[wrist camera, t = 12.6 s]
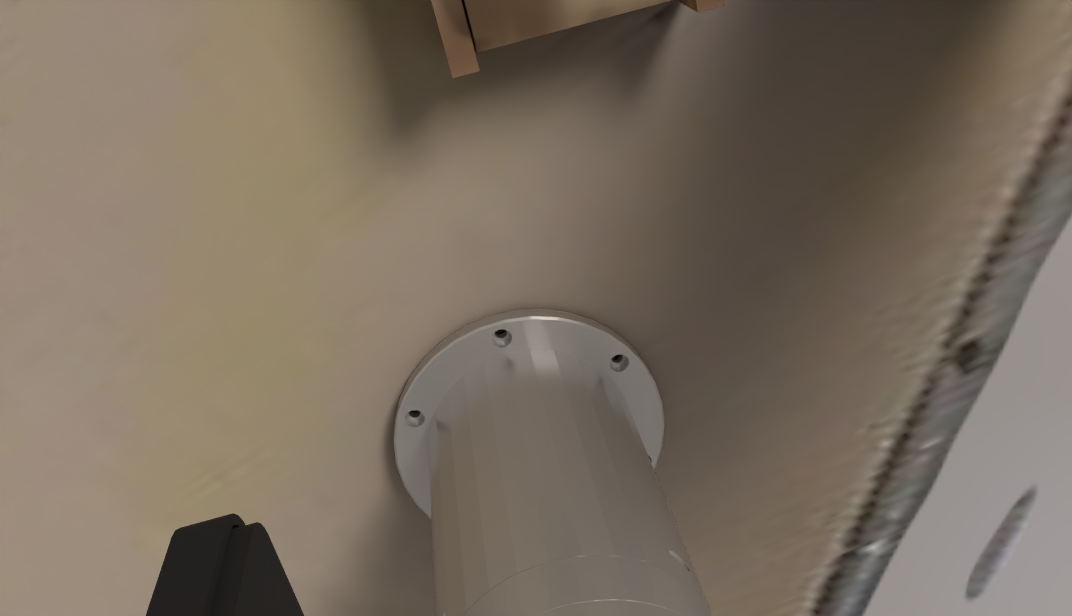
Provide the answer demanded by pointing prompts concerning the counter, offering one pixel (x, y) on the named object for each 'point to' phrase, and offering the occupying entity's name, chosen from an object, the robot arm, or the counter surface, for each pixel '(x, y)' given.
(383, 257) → the counter surface
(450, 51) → the wooden trough
